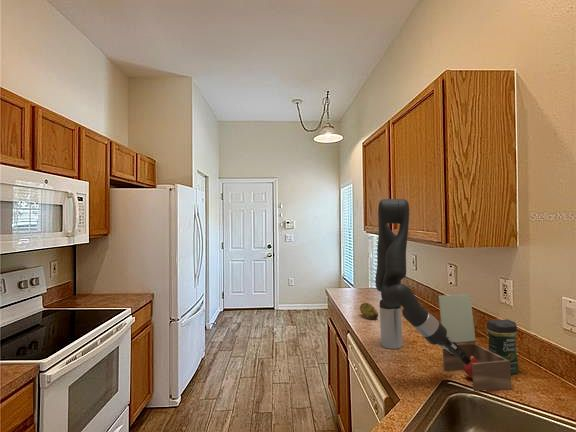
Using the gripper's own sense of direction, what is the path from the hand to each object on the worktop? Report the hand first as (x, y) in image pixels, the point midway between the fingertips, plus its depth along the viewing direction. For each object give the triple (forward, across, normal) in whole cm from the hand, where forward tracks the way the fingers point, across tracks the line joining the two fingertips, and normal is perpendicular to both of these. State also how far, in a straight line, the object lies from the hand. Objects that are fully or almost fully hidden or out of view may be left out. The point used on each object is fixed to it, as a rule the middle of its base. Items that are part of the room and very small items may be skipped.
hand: (460, 358), depth 126 cm
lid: (-4, +9, -11) cm, 15 cm away
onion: (+9, 0, +2) cm, 9 cm away
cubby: (+9, 0, +2) cm, 9 cm away
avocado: (+5, +85, +6) cm, 85 cm away
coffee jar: (+19, +4, -8) cm, 21 cm away
